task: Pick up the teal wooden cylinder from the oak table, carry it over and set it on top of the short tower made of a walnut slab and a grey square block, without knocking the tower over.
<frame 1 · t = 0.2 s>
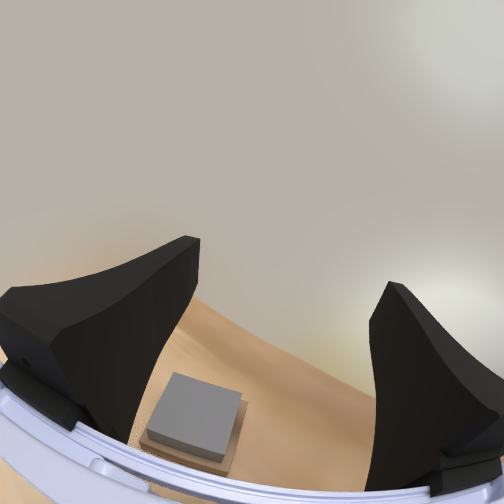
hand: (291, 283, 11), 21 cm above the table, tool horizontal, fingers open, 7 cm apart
walnut slab: (195, 432, 24), on the table, touching grey square block
grey square block: (195, 423, 23), point 2 cm above the table, touching walnut slab
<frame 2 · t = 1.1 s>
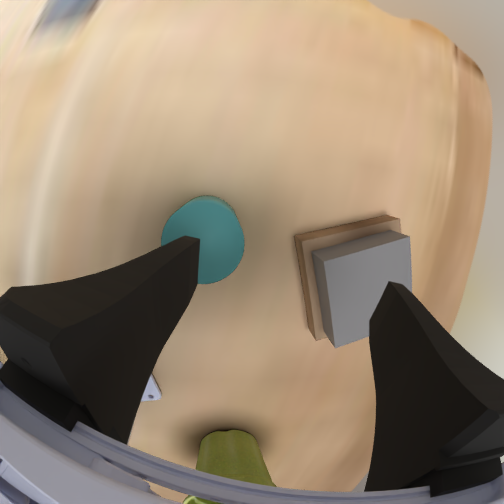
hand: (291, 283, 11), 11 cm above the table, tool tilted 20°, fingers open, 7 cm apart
teal cylinder: (206, 226, 20), on the table
plant pot: (229, 443, 27), on the table
walnut slab: (346, 271, 23), on the table, touching grey square block
grey square block: (358, 281, 21), point 2 cm above the table, touching walnut slab
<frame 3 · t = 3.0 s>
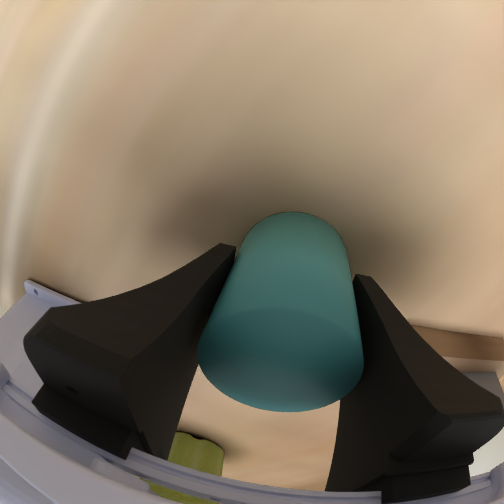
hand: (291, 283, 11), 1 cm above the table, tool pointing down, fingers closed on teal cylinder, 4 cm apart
teal cylinder: (293, 262, 12), on the table, touching gripper
plant pot: (195, 442, 24), on the table
walnut slab: (424, 371, 15), on the table, touching grey square block
grey square block: (427, 406, 13), point 2 cm above the table, touching walnut slab
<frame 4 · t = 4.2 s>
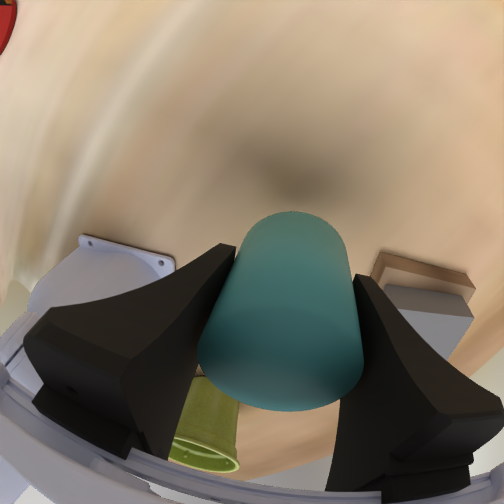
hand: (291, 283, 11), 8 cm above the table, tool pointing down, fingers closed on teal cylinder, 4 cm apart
teal cylinder: (293, 262, 12), point 7 cm above the table, touching gripper
plant pot: (214, 390, 30), on the table
canned food: (0, 30, 13), on the table
walnut slab: (404, 302, 21), on the table, touching grey square block
grey square block: (409, 325, 19), point 2 cm above the table, touching walnut slab
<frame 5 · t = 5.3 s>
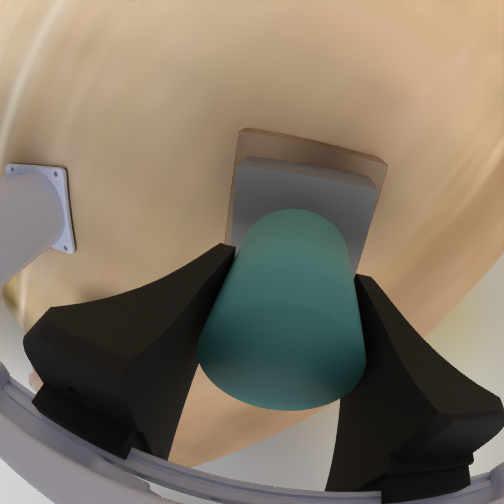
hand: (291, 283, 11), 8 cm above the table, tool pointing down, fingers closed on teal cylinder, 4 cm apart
teal cylinder: (294, 260, 12), point 7 cm above the table, touching gripper
walnut slab: (301, 200, 18), on the table, touching grey square block
grey square block: (299, 221, 16), point 2 cm above the table, touching walnut slab
when the fingers open (7 cm above the table, at t = 5.9 s): teal cylinder drops 2 cm, resting on grey square block.
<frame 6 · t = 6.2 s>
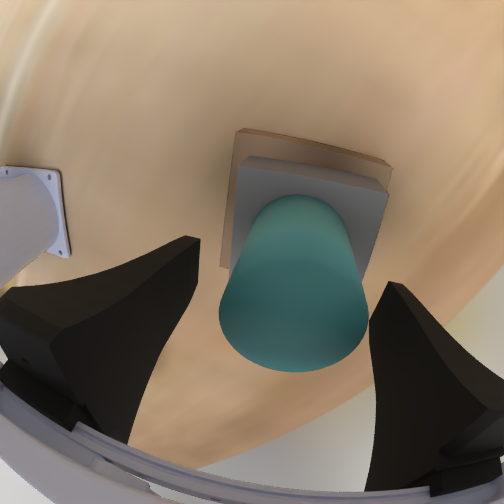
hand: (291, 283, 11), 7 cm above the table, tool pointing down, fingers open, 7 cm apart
teal cylinder: (298, 241, 13), point 4 cm above the table, touching grey square block
walnut slab: (301, 204, 17), on the table, touching grey square block
grey square block: (303, 224, 15), point 2 cm above the table, touching teal cylinder, walnut slab
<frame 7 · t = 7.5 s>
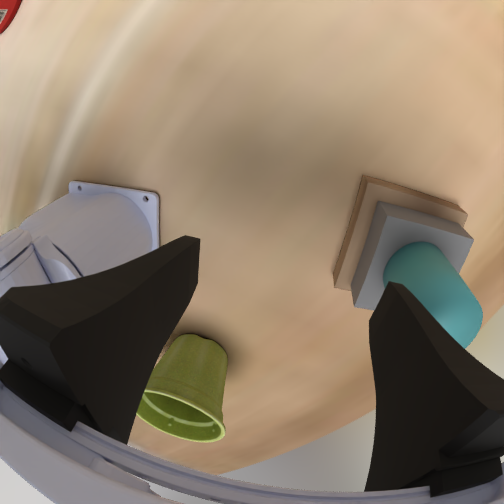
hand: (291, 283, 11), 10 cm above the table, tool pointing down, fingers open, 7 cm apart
teal cylinder: (415, 273, 16), point 4 cm above the table, touching grey square block
plant pot: (201, 351, 30), on the table
canned food: (8, 6, 13), on the table
walnut slab: (394, 236, 20), on the table, touching grey square block
grey square block: (405, 254, 18), point 2 cm above the table, touching teal cylinder, walnut slab
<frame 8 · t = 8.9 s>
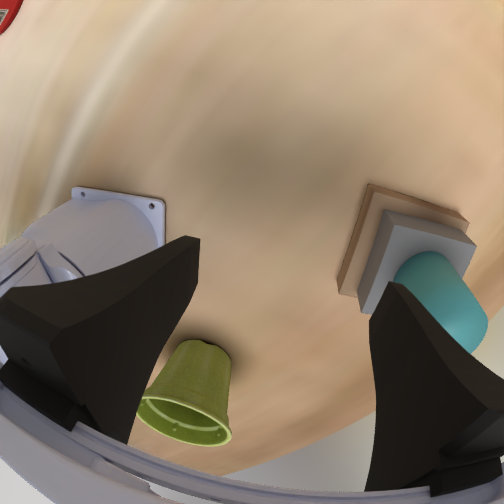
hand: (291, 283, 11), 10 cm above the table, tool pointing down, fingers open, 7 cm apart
teal cylinder: (423, 281, 16), point 4 cm above the table, touching grey square block
plant pot: (205, 356, 30), on the table
canned food: (8, 6, 13), on the table
walnut slab: (397, 243, 21), on the table, touching grey square block
grey square block: (410, 261, 19), point 2 cm above the table, touching teal cylinder, walnut slab
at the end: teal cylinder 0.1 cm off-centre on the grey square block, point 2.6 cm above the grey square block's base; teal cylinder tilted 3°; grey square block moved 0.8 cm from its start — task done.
